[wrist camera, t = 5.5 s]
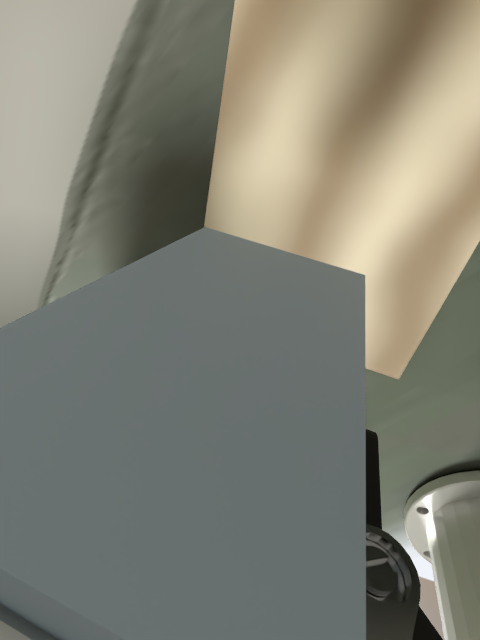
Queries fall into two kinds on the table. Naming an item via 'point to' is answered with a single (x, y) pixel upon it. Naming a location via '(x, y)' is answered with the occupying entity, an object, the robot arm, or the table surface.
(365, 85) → the shelf
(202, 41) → the table surface
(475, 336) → the table surface
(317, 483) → the carton
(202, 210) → the table surface
